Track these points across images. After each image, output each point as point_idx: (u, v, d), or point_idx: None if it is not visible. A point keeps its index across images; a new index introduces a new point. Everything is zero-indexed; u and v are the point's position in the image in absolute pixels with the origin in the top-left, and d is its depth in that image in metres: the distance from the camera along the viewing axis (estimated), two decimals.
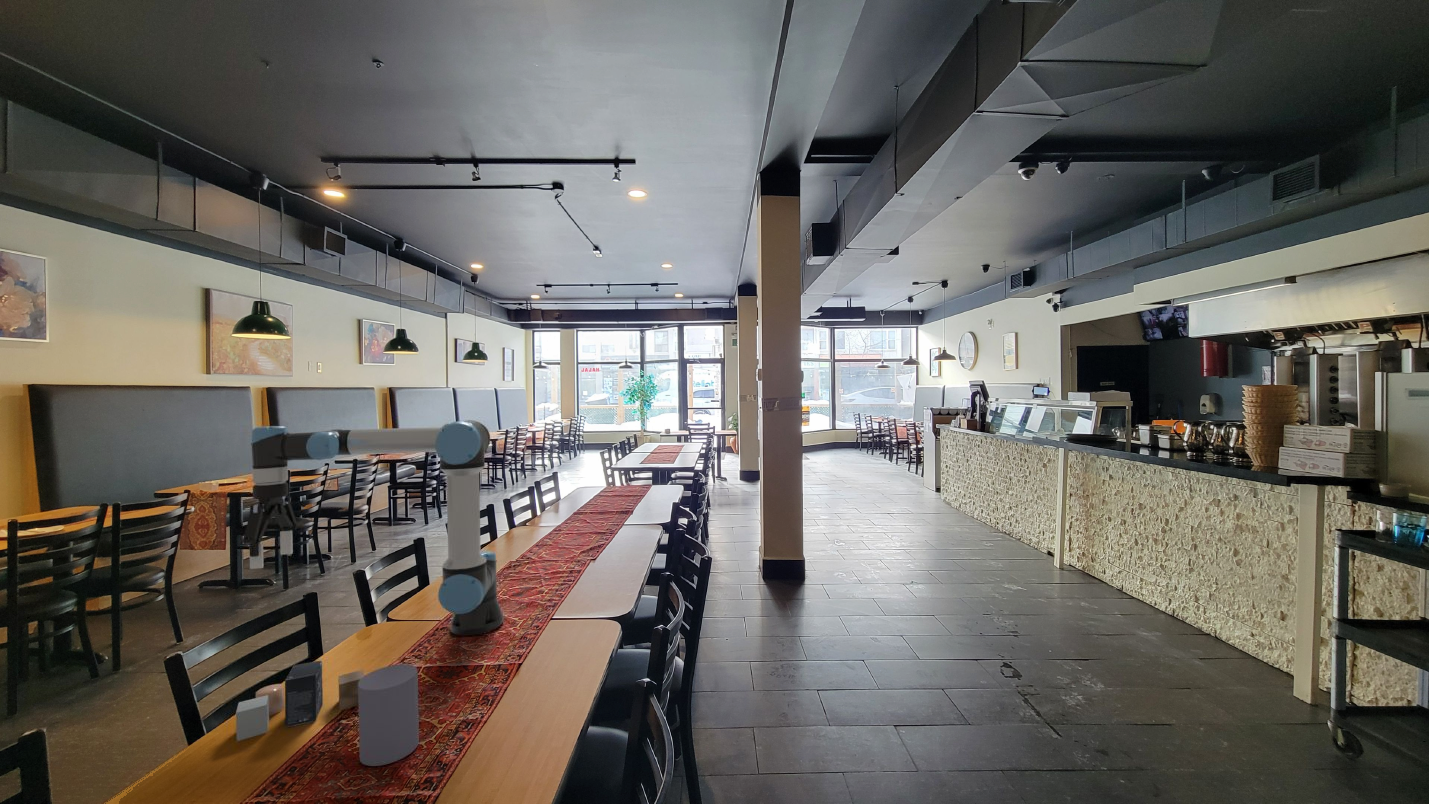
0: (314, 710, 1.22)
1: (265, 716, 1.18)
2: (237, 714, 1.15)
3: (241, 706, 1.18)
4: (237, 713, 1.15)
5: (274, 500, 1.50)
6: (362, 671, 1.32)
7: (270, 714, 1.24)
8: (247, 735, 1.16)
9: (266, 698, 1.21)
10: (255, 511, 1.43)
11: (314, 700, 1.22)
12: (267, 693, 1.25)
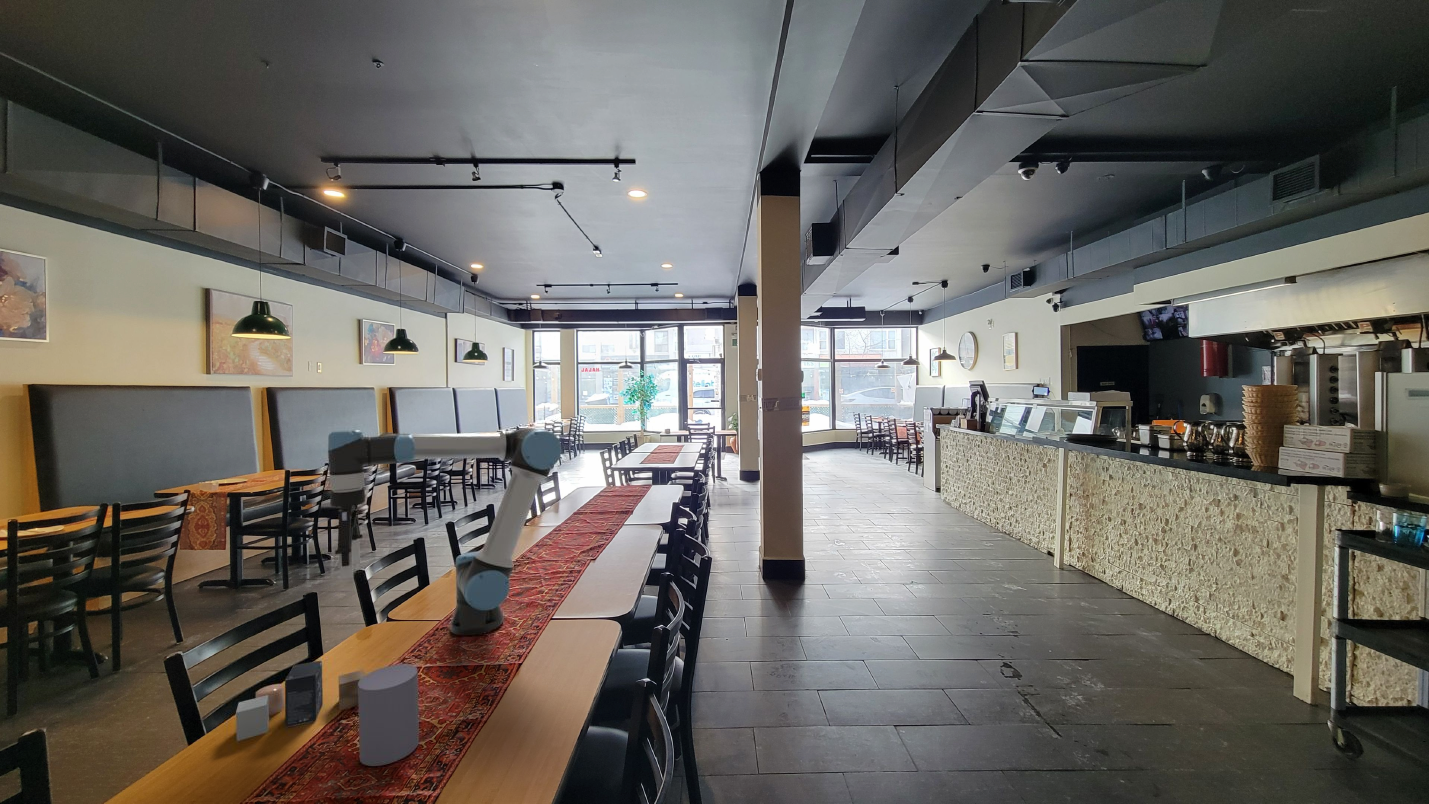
0: (314, 710, 1.22)
1: (265, 716, 1.18)
2: (237, 714, 1.15)
3: (241, 706, 1.18)
4: (237, 713, 1.15)
5: (352, 507, 1.43)
6: (362, 671, 1.32)
7: (270, 714, 1.24)
8: (247, 735, 1.16)
9: (266, 698, 1.21)
10: (344, 519, 1.37)
11: (314, 700, 1.22)
12: (267, 693, 1.25)
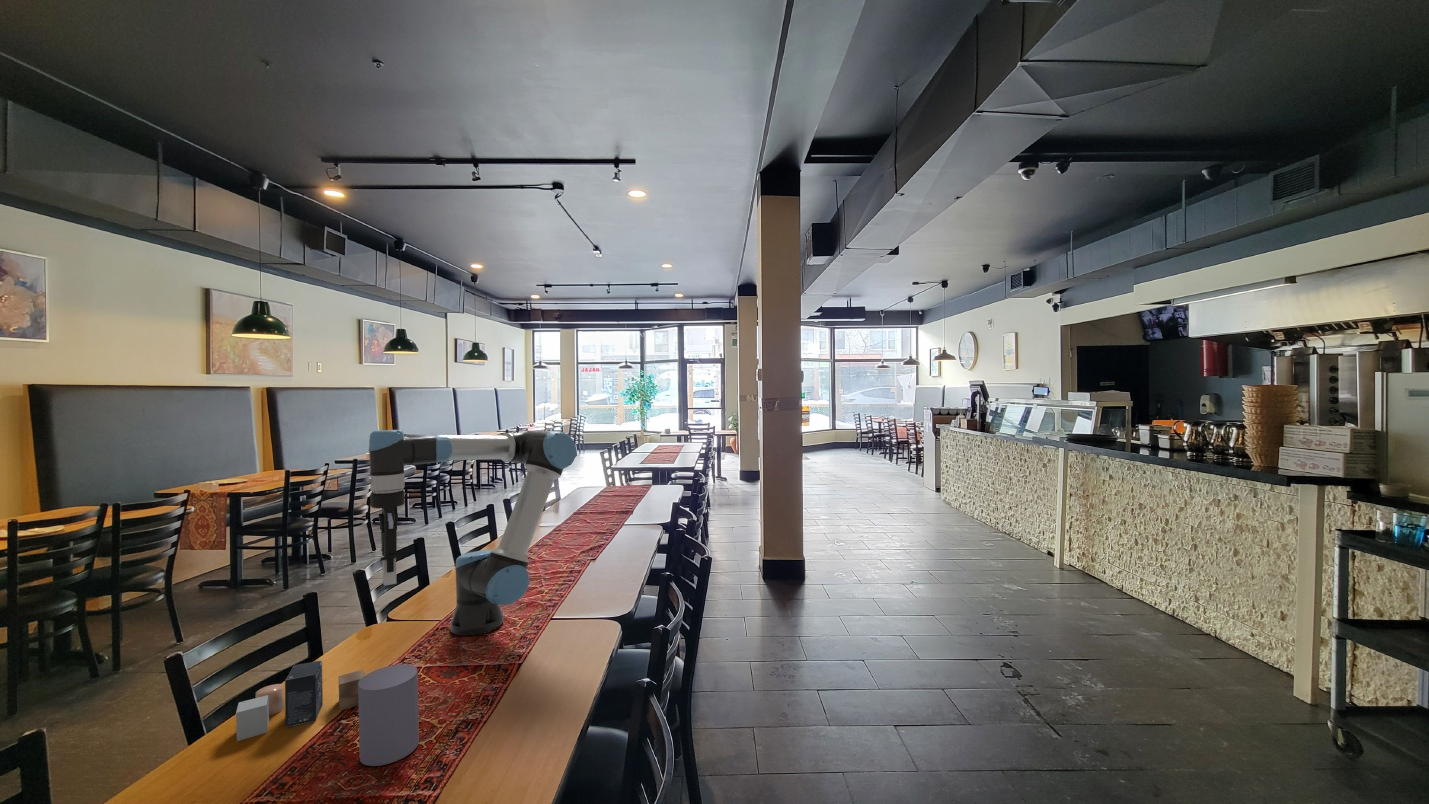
0: (314, 710, 1.22)
1: (265, 716, 1.18)
2: (237, 714, 1.15)
3: (241, 706, 1.18)
4: (237, 713, 1.15)
5: None
6: (362, 671, 1.32)
7: (269, 714, 1.24)
8: (247, 735, 1.16)
9: (266, 698, 1.21)
10: (391, 528, 1.36)
11: (314, 700, 1.22)
12: (267, 693, 1.25)
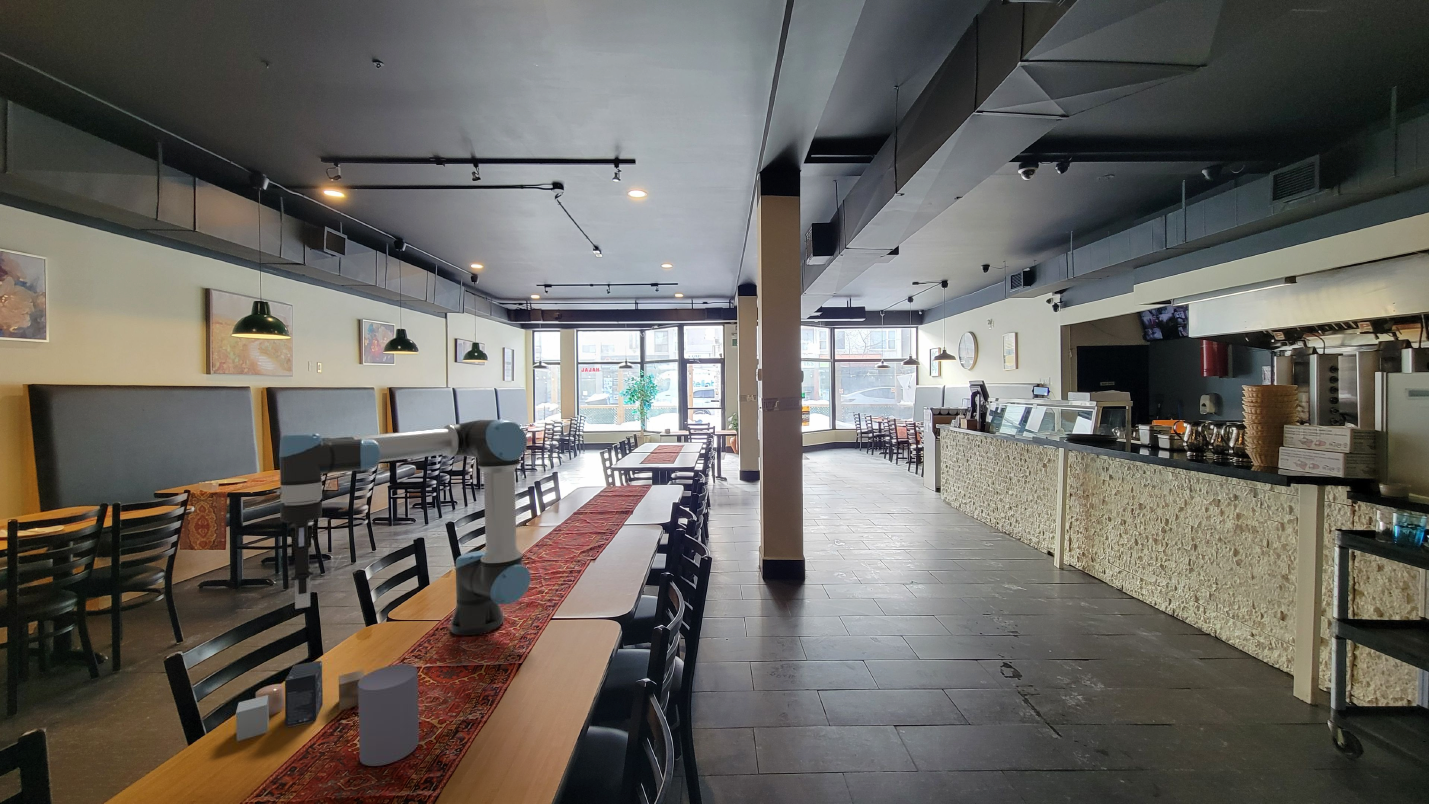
0: (314, 710, 1.22)
1: (265, 716, 1.18)
2: (237, 714, 1.15)
3: (241, 706, 1.18)
4: (237, 713, 1.15)
5: None
6: (362, 671, 1.32)
7: (269, 714, 1.24)
8: (247, 735, 1.16)
9: (266, 698, 1.21)
10: (301, 545, 1.20)
11: (314, 700, 1.22)
12: (267, 693, 1.25)
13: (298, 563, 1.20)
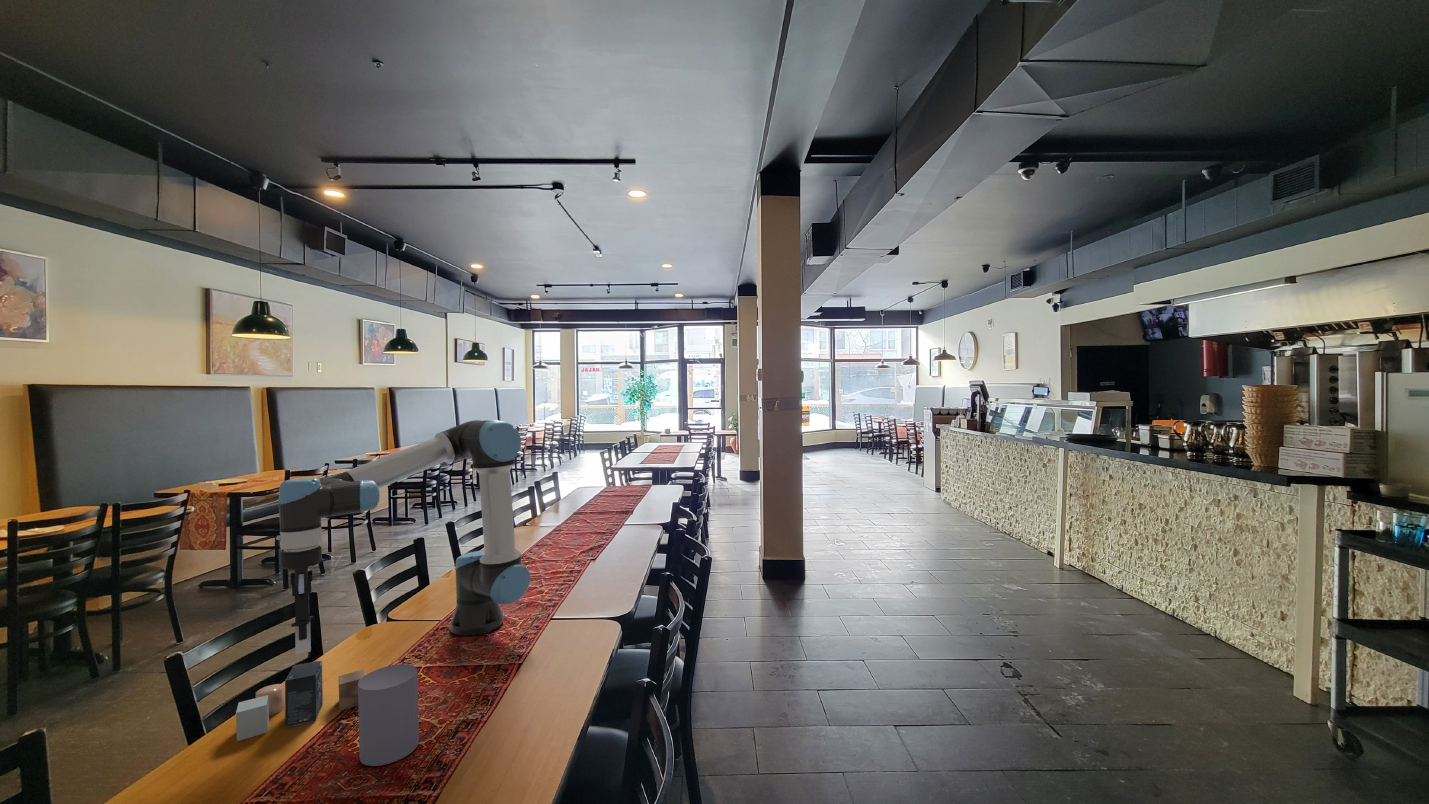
0: (314, 710, 1.22)
1: (265, 716, 1.18)
2: (237, 714, 1.15)
3: (241, 707, 1.17)
4: (237, 713, 1.15)
5: (307, 568, 1.24)
6: (362, 671, 1.32)
7: (269, 714, 1.24)
8: (247, 735, 1.16)
9: (266, 698, 1.21)
10: (301, 593, 1.20)
11: (314, 700, 1.22)
12: (267, 693, 1.25)
13: (298, 610, 1.20)
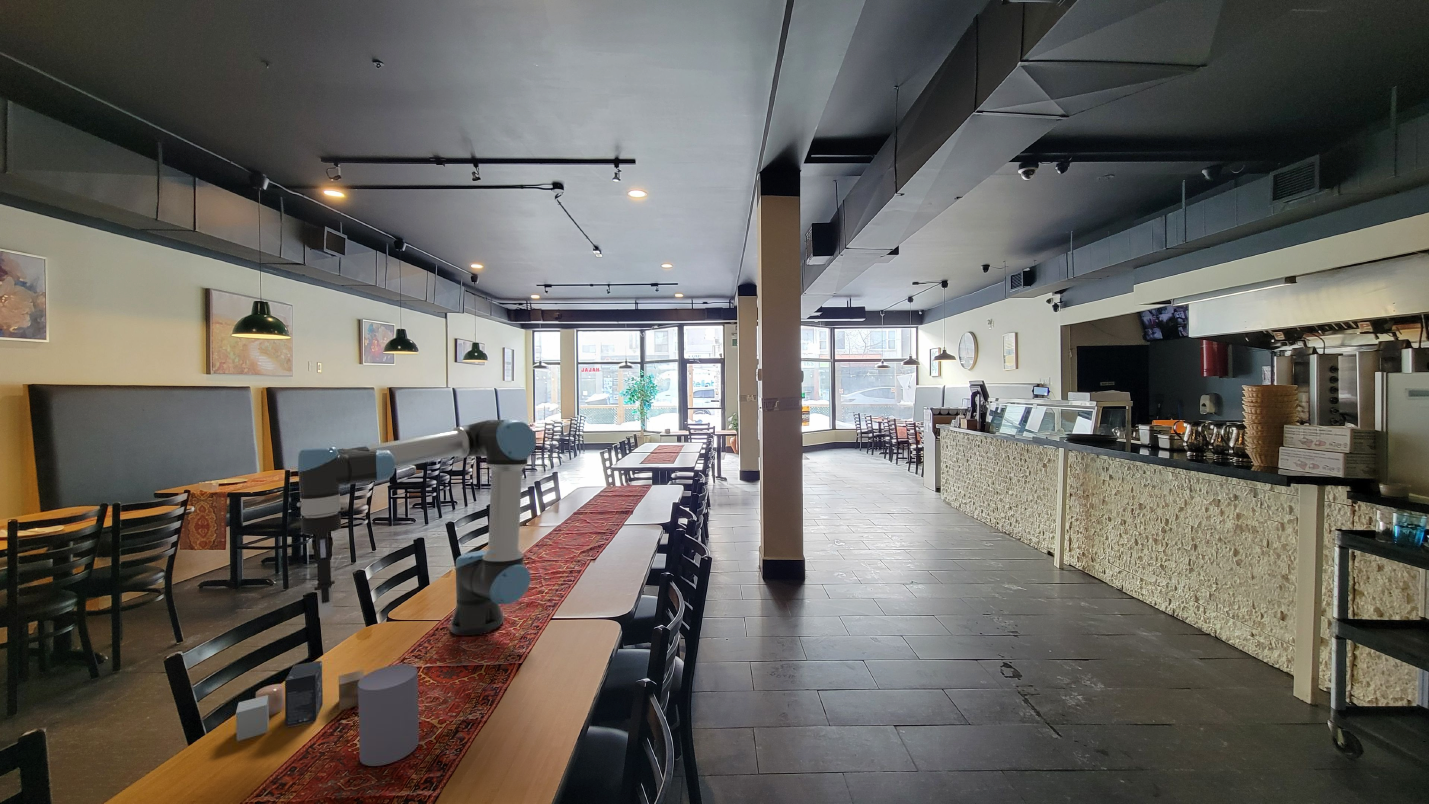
0: (314, 710, 1.22)
1: (265, 716, 1.18)
2: (237, 714, 1.15)
3: (241, 707, 1.17)
4: (237, 713, 1.15)
5: None
6: (362, 671, 1.32)
7: (269, 714, 1.24)
8: (247, 735, 1.16)
9: (266, 698, 1.21)
10: (323, 557, 1.23)
11: (314, 700, 1.22)
12: (267, 693, 1.25)
13: (320, 574, 1.24)
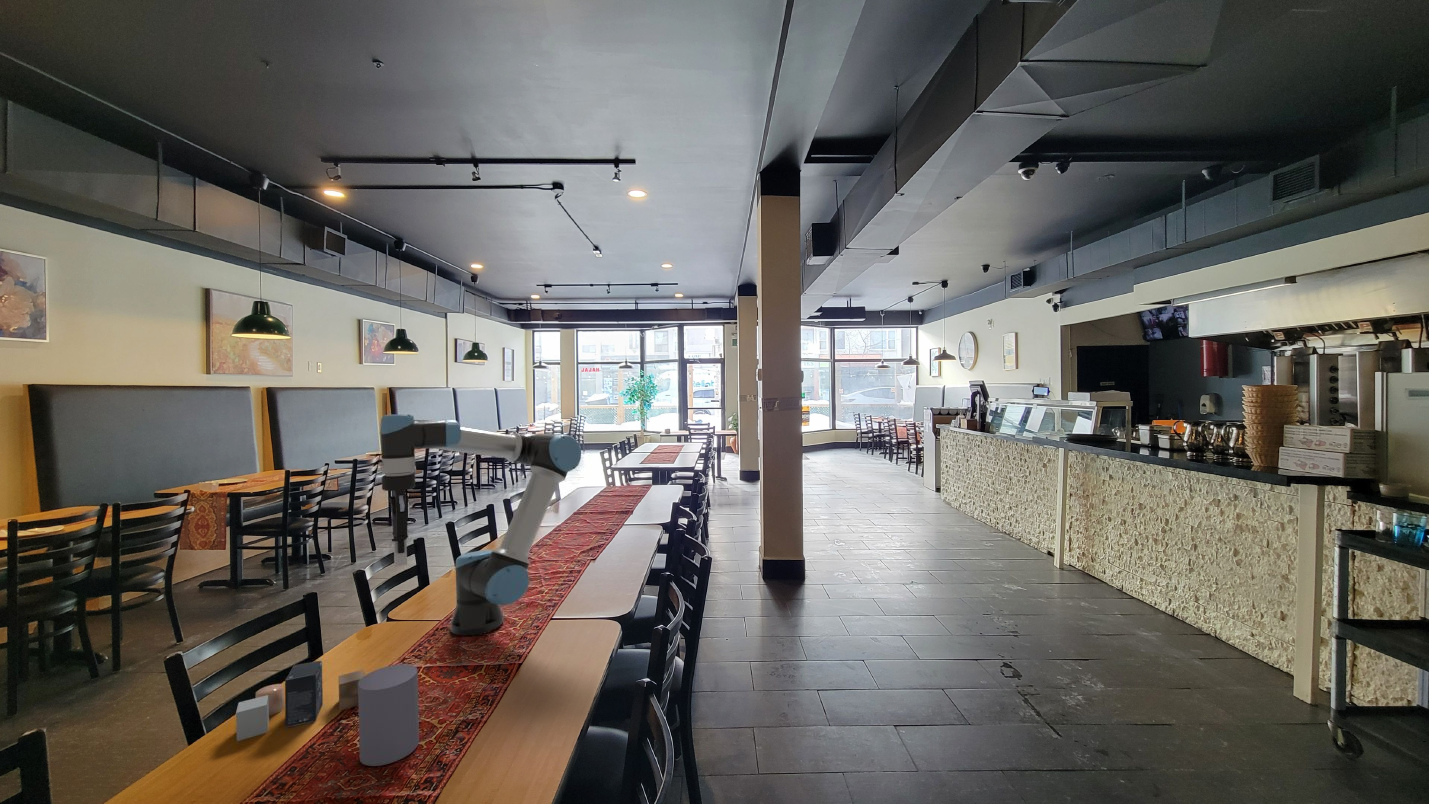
0: (314, 710, 1.22)
1: (265, 716, 1.18)
2: (237, 714, 1.15)
3: (241, 706, 1.18)
4: (237, 713, 1.15)
5: None
6: (362, 671, 1.32)
7: (269, 714, 1.24)
8: (247, 735, 1.16)
9: (266, 698, 1.21)
10: (402, 510, 1.38)
11: (314, 700, 1.22)
12: (267, 693, 1.25)
13: (399, 526, 1.39)
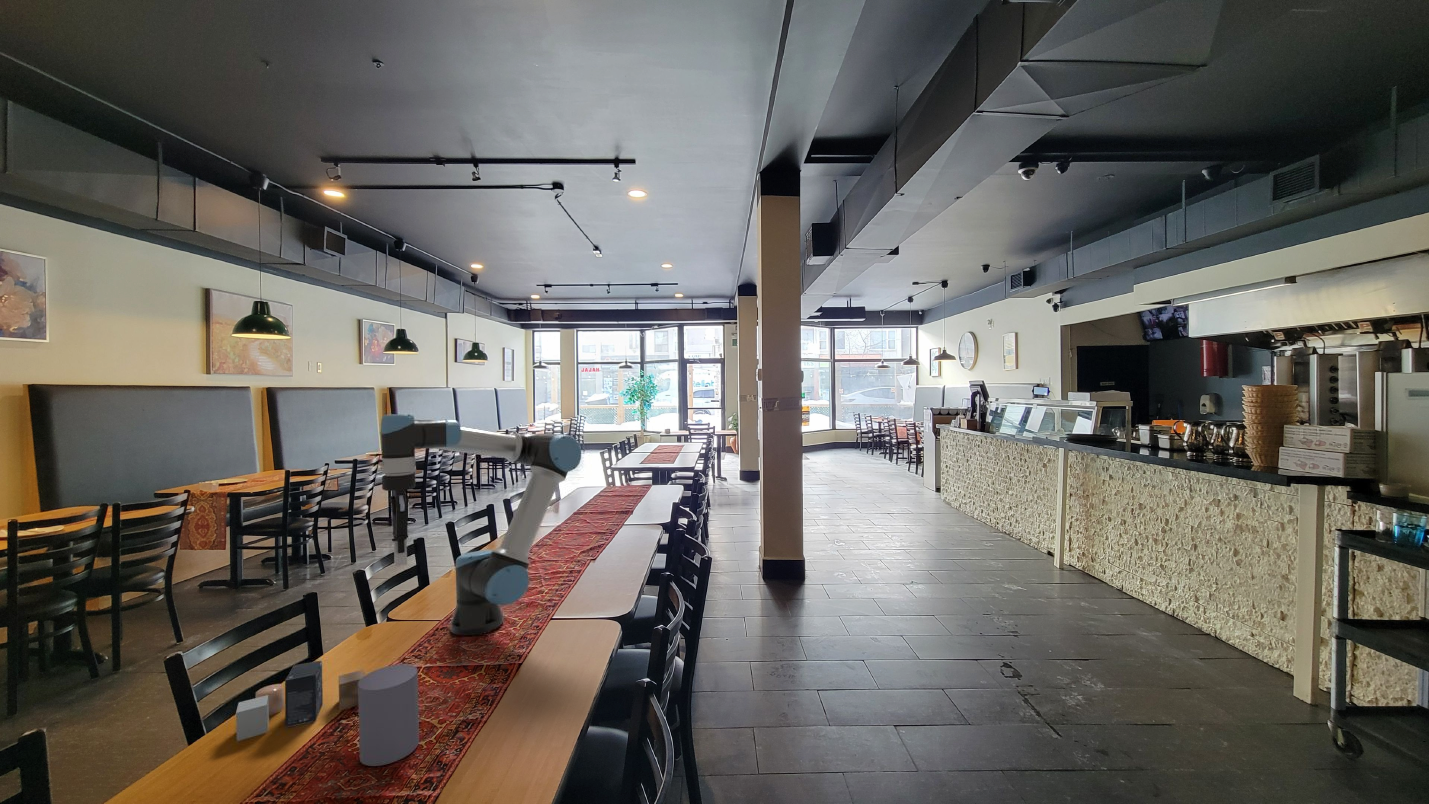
0: (314, 710, 1.22)
1: (265, 716, 1.18)
2: (237, 714, 1.15)
3: (241, 706, 1.18)
4: (237, 713, 1.15)
5: None
6: (362, 671, 1.32)
7: (269, 714, 1.24)
8: (247, 735, 1.16)
9: (266, 698, 1.21)
10: (402, 510, 1.38)
11: (314, 700, 1.22)
12: (267, 693, 1.25)
13: (399, 526, 1.39)
